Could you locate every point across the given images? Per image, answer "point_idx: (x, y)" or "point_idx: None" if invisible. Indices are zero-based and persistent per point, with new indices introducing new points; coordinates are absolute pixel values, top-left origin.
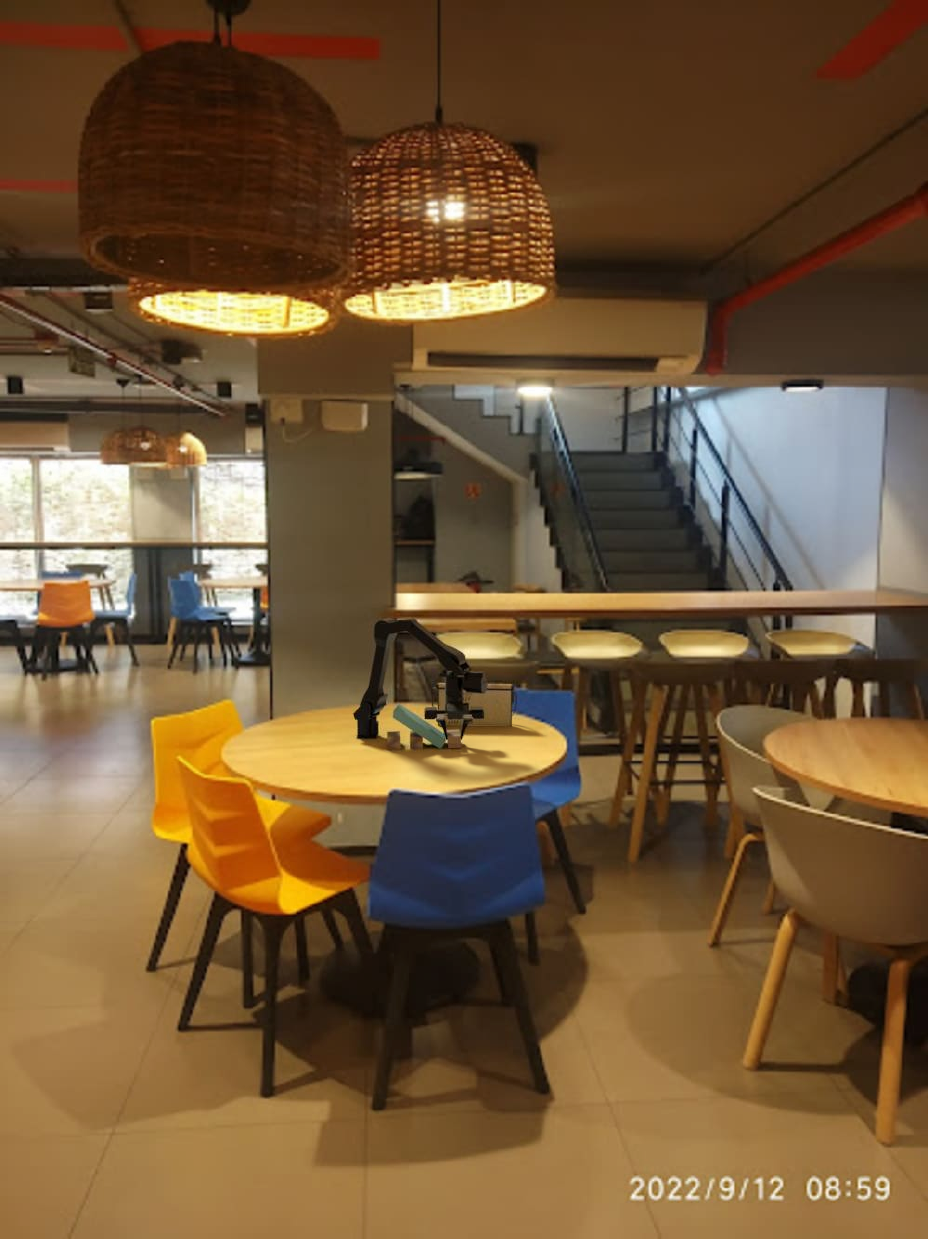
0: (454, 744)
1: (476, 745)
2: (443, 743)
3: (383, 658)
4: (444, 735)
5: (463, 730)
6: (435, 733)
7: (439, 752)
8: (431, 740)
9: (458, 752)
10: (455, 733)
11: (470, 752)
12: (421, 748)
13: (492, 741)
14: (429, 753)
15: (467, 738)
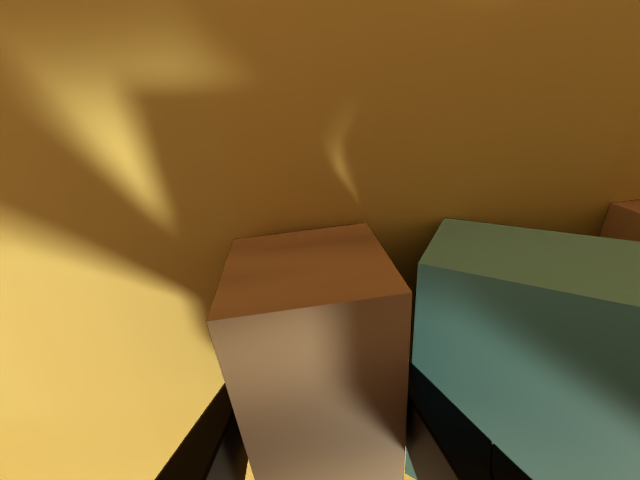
0: (305, 247)
1: (120, 350)
2: (436, 246)
3: None
4: None
5: (178, 477)
6: (614, 351)
7: (469, 89)
8: (607, 250)
9: (248, 101)
10: (304, 425)
11: (102, 109)
12: (632, 203)
13: (29, 444)
14: (593, 35)
15: None
